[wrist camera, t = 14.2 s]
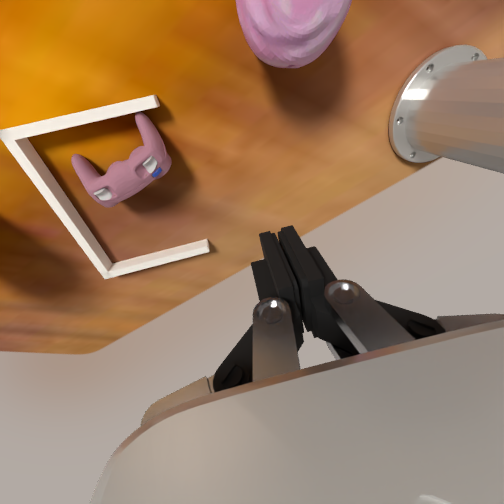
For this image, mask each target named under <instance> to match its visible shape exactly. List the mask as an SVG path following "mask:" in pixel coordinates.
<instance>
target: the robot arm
mask: <svg viewBox="0 0 504 504" xmlns="http://www.w3.org/2000/svg"><path fill="white" fill-rule="evenodd" d="M389 138H390V143H391V145H392V148H393V150H394V151H395V152H396V154H397V155H398V156H400V157H401V158H403V159H405V160H408V161H410V162H415V163H423V162H428V161H432V160H434V159H437V158H439V157H445V158H449V159H453V160H457V161H460V162H464V163H467V164H471V165H475V166H479V167H482V168H486V169H489V170H493V171H497V172H500V173H504V58H496V59H487V57H486V56H485V55H484V53H483V52H482V51H481V50H480V49H478V48H476V47H475V46H470V45H457V46H452V47H448V48H444V49H442V50H440V51H438V52H436V53H434V54H433V55H431V56H430V57H428V58H427V59H425V60H424V61H423V62H422V63H421V64H420V65H419V66H418V67H417V68H416V69H415V70H414V71H413V72H412V74H411V75H410V76H409V77H408V79H407V80H406V81H405V83H404V85H403V86H402V88H401V89H400V91H399V93H398V95H397V98H396V100H395V102H394V105H393V108H392V111H391V115H390V121H389ZM259 237H260V241H261V246H262V250H263V254H264V259H263V260H259V261H256V262H252V263H251V266H252V270H253V275H254V279H255V283H256V287H257V292H258V296H259V300H260V302H259V303H258V304H257V305H256V306H255V308H254V310H253V324H252V325H251V327H250V328H249V329H248V330H247V332H246V333H245V334H244V336H243V337H242V338H241V340H240V341H239V342H238V343H237V345H236V346H235V347H234V348H233V350H232V351H231V352H230V354H229V355H228V356H227V357H226V359H225V360H224V361H223V363H222V364H221V365H220V366H219V368H218V369H217V371H216V373H215V375H213V376H211V377H209V378H207V377H206V376H205V377H203V378H201V379H199V380H197V381H195V382H193V383H191V384H189V385H187V386H185V387H183V388H181V389H179V390H177V391H175V392H173V393H171V394H169V395H167V396H166V397H163V398H161V399H159V400H158V401H156V402H155V403H153V404H152V405H151V406H150V407H149V408H148V409H147V411H146V412H145V414H144V416H143V418H142V421H141V427H139V428H138V429H137V430H136V431H134V432H133V433H132V434H131V435H130V436H129V437H128V438H127V439H126V440H124V441H123V442H122V443H121V445H119V447H118V448H117V449H116V450H115V451H114V453H113V454H112V455H111V457H110V459H109V461H108V462H107V464H106V466H105V467H104V469H103V472H102V474H101V476H100V478H99V480H98V483H97V485H96V488H95V490H94V493H93V495H92V498H91V501H90V504H504V314H478V315H460V316H459V315H457V316H438V317H437V319H434V320H433V319H432V318H429V317H427V316H425V315H422V314H419V313H416V312H412V311H409V310H406V309H403V308H399V307H396V306H393V305H390V304H387V303H383V302H380V301H376V300H374V299H373V298H372V297H371V296H370V295H369V294H368V293H367V292H366V291H365V290H364V289H363V288H362V287H361V286H360V285H358V284H357V283H355V282H353V281H350V280H337V278H336V277H335V275H334V274H333V272H332V271H331V269H330V268H329V266H328V265H327V263H326V262H325V260H324V259H323V257H322V256H321V254H320V253H319V251H318V250H317V248H316V247H310V248H306V247H305V246H304V244H303V242H302V241H301V239H300V237H299V236H298V234H297V232H296V231H295V229H294V227H293V226H292V225H291V226H287V227H283V228H281V231H280V232H278V238H279V241H278V239H277V237H276V235H275V233H272V234H271V233H270V231H268V232H264V233H260V234H259ZM302 320H303V321H302ZM303 323H304V325H305V328H306V330H307V332H309V331H312V334H313V336H314V338H316V337H318V338H320V339H322V340H324V341H326V343H327V346H328V348H329V349H330V351H331V352H332V354H333V355H334V357H335V359H336V360H335V361H331V362H328V363H324V364H320V365H317V366H312V367H308V368H304V369H301V370H300V364H299V358H298V351H299V349H300V347H301V345H302V344H303V342H304V340H303V334H302V333H304V328H303Z"/></svg>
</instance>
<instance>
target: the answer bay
mask: <svg viewBox="0 0 504 504" xmlns="http://www.w3.org/2000/svg"><path fill="white" fill-rule="evenodd" d="M159 106H160V104H159V101H158V99H157V96H156V95H152V96H148V97H143V98H139V99H134V100H130V101H126V102H121V103H117V104H113V105H108V106H104V107H100V108H95V109H91V110H86V111H82V112H78V113H73V114H69V115H65V116H60V117H56V118H51V119H47V120H43V121H38V122H34V123H30V124H25V125H21V126H17V127H12V128H8V129H3V130H0V138H1V140H2V141H3V142H4V144H5V145H6V146H7V148H8V149H9V150H10V152H11V153H12V154H13V156H14V157H15V159H16V160H17V161H18V163H19V164H20V165H21V167H22V168H23V169H24V171H25V172H26V173H27V175H28V176H29V177H30V179H31V180H32V181H33V183H34V184H35V186H36V187H37V188H38V190H39V191H40V192H41V194H42V195H43V196H44V198H45V199H46V200H47V202H48V203H49V204H50V206H51V207H52V209H53V210H54V211H55V213H56V214H57V215H58V217H59V218H60V219H61V221H62V222H63V223H64V225H65V226H66V227H67V229H68V230H69V232H70V233H71V234H72V236H73V237H74V238H75V240H76V241H77V242H78V244H79V245H80V246H81V248H82V249H83V250H84V252H85V253H86V255H87V256H88V257H89V259H90V260H91V261H92V263H93V264H94V265H95V267H96V268H97V269H98V271H99V272H100V273H101V275H102V276H103V277H104V279H108V278H112V277H116V276H119V275H123V274H127V273H131V272H135V271H138V270H142V269H146V268H150V267H154V266H157V265H161V264H165V263H169V262H173V261H176V260H180V259H184V258H188V257H192V256H195V255H199V254H203V253H207V252H209V243H208V240H207V239H205V240H201V241H197V242H193V243H189V244H185V245H182V246H178V247H174V248H170V249H166V250H162V251H159V252H155V253H151V254H147V255H143V256H139V257H135V258H132V259H128V260H124V261H120V262H116V263H112V262H111V261H110V259H109V258H108V256H107V255H106V253H105V252H104V250H103V249H102V247H101V246H100V245H99V243H98V242H97V240H96V239H95V237H94V236H93V234H92V233H91V231H90V230H89V228H88V227H87V225H86V224H85V222H84V221H83V219H82V218H81V217H80V215H79V214H78V212H77V211H76V209H75V208H74V206H73V205H72V203H71V202H70V200H69V199H68V197H67V196H66V194H65V193H64V192H63V190H62V189H61V187H60V186H59V184H58V183H57V181H56V180H55V178H54V177H53V175H52V174H51V172H50V171H49V169H48V168H47V166H46V165H45V164H44V162H43V161H42V159H41V158H40V156H39V155H38V153H37V152H36V150H35V149H34V147H33V146H32V144H31V143H30V141H29V140H28V138H27V137H30V136H35V135H39V134H43V133H48V132H52V131H56V130H61V129H65V128H69V127H74V126H78V125H82V124H87V123H91V122H95V121H100V120H104V119H108V118H112V117H117V116H121V115H125V114H130V113H134V112H138V111H143V110H147V109H151V108H156V107H159Z"/></svg>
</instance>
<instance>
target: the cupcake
mask: <svg viewBox="0 0 504 504" xmlns="http://www.w3.org/2000/svg"><path fill="white" fill-rule="evenodd" d="M351 1H352V0H236V5H237V12H238V17H239V21H240V24H241V27H242V30H243V33H244V35H245V38H246V41H247V43H248V45H249V46H250V48H251V50H252V51H253V52H254V54H255V55H256V56H257V57H258V58H259V59H260V60H262V61H263V62H264V63H267V64H269V65H271V66H274V67H280V68H299V67H302V66H304V65H307V64H309V63H311V62H312V61H314V60H315V59H316V58H318V57H319V56H320V55H321V54H322V53H323V52H324V51H325V49H326V48H327V47H328V46H329V44H330V43H331V42H332V40H333V39H334V37H335V36H336V34H337V32H338V30H339V29H340V27H341V25H342V23H343V21H344V20H345V17H346V15H347V13H348V11H349V8H350V5H351Z"/></svg>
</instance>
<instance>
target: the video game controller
mask: <svg viewBox="0 0 504 504" xmlns="http://www.w3.org/2000/svg"><path fill="white" fill-rule="evenodd" d="M135 120H136V124H137V126H138V129H139V131H140V133H141V136H142V139H143V142H144V146H140V147H137V148H136V149H134V151H133V152H132V153H131V154H130V157H129V159H128V160H125V161H123V162H121V161H117V162H115V163H113V164H112V165H111V166H110V167H109V168H108V170H107V173H106V174H105V175H104V176H100V175H99V174H98V172H97V171H96V170H95V168H94V167H93V166H92V165H91V163H90V162H89V161H88V160H87V159H85V158H84V157H83V156H81V155H79V154H74V155H73V156H72V165H73V167H74V169H75V171H76V173H77V175H78V176H79V178H80V180H81V182H82V184H83V185H84V187H85V189H86V190H87V192H88V193H89V195H90V196H91V197H92V198H93V199H94V200H95V201H96V202H98V203H100V204H101V205H103V206H104V207H113V206H115V205H116V204H118V203H119V202H120V201H123V200H125V199H127V198H129V197H131V196H132V195H134V194H136V193H137V192H139V191H140V190H142V189H143V188H145V187H146V186H147V185H149V184H150V183H151V182H152V181H153V180H155V179H159V178H161V177H162V176H164V175H165V174H166V173H167V172H168V170H169V169H170V166H171V163H172V161H171V157H170V156H169V155H168V154H167V151H166V148H165V145H164V143H163V140H162V138H161V136H160V135H159V133H158V131H157V129H156V128H155V126H154V124H153V123H152V122H151V120H150V119H149V118H148V117H147V116H146V115H145V114H144V113H142V112H140V111H138V112H136V114H135Z"/></svg>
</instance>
